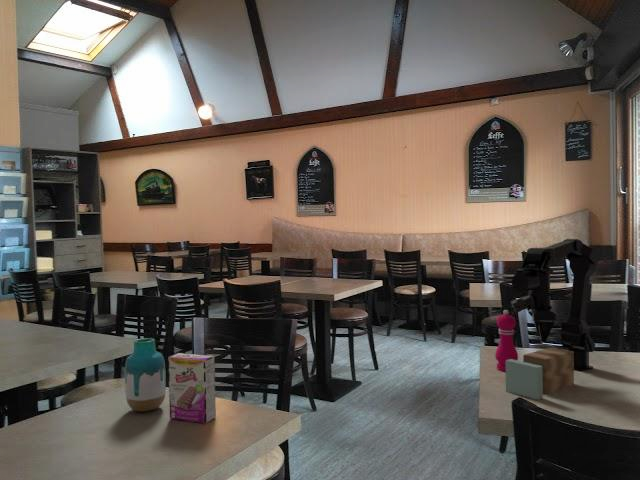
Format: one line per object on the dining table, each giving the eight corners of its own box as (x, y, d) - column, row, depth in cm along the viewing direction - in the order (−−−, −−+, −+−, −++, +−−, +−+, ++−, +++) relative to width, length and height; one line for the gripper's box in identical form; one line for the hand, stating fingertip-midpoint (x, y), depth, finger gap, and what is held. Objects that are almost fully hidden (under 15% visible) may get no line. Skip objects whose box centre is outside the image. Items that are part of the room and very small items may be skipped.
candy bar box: (168, 420, 133) (166, 356, 132) (180, 413, 138) (178, 352, 137) (206, 424, 129) (204, 359, 129) (216, 417, 134) (215, 354, 134)
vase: (174, 405, 144) (172, 337, 143) (147, 419, 134) (145, 345, 133) (145, 401, 148) (143, 334, 148) (116, 413, 138) (114, 342, 138)
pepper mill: (520, 372, 168) (519, 311, 168) (496, 372, 170) (496, 311, 169) (516, 366, 175) (515, 308, 175) (493, 366, 177) (493, 308, 176)
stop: (511, 389, 152) (510, 358, 152) (542, 398, 144) (542, 366, 143) (505, 391, 150) (505, 360, 150) (537, 400, 142) (537, 367, 142)
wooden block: (552, 379, 161) (551, 347, 161) (573, 384, 156) (573, 351, 155) (523, 388, 153) (523, 354, 153) (545, 394, 147) (545, 359, 147)
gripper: (509, 284, 171) (511, 331, 172) (515, 293, 154) (516, 344, 154) (546, 284, 169) (547, 331, 169) (556, 292, 151) (557, 345, 151)
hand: (541, 338), depth 161 cm, fingers open, 9 cm apart
